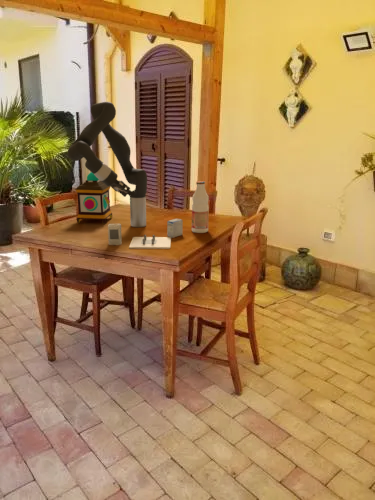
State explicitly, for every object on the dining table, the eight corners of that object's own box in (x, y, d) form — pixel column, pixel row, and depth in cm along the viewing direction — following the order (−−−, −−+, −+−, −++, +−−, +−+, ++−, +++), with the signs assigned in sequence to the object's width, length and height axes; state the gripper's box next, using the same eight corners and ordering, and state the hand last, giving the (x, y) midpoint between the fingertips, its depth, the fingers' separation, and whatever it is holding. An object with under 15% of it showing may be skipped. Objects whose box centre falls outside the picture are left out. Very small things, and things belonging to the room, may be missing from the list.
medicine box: (176, 233, 227) (176, 218, 225) (182, 235, 225) (182, 219, 222) (167, 236, 221) (166, 220, 219) (173, 237, 219) (173, 222, 216)
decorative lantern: (85, 216, 265) (82, 169, 256) (115, 217, 263) (113, 170, 254) (74, 224, 246) (70, 173, 237) (106, 225, 244) (103, 174, 235)
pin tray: (133, 238, 217) (133, 232, 216) (171, 238, 217) (171, 232, 216) (129, 248, 200) (128, 241, 199) (170, 248, 200) (170, 242, 199)
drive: (109, 242, 209) (109, 223, 206) (121, 242, 209) (120, 223, 206) (108, 244, 205) (107, 225, 202) (120, 245, 205) (119, 225, 202)
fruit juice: (200, 234, 226) (201, 183, 218) (188, 231, 232) (188, 181, 224) (211, 231, 233) (212, 181, 225) (199, 228, 239) (199, 180, 231)
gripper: (115, 168, 191) (140, 190, 199) (104, 168, 203) (128, 189, 211) (106, 180, 189) (131, 202, 198) (95, 180, 201) (119, 200, 210)
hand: (129, 195), depth 205 cm, fingers open, 8 cm apart
